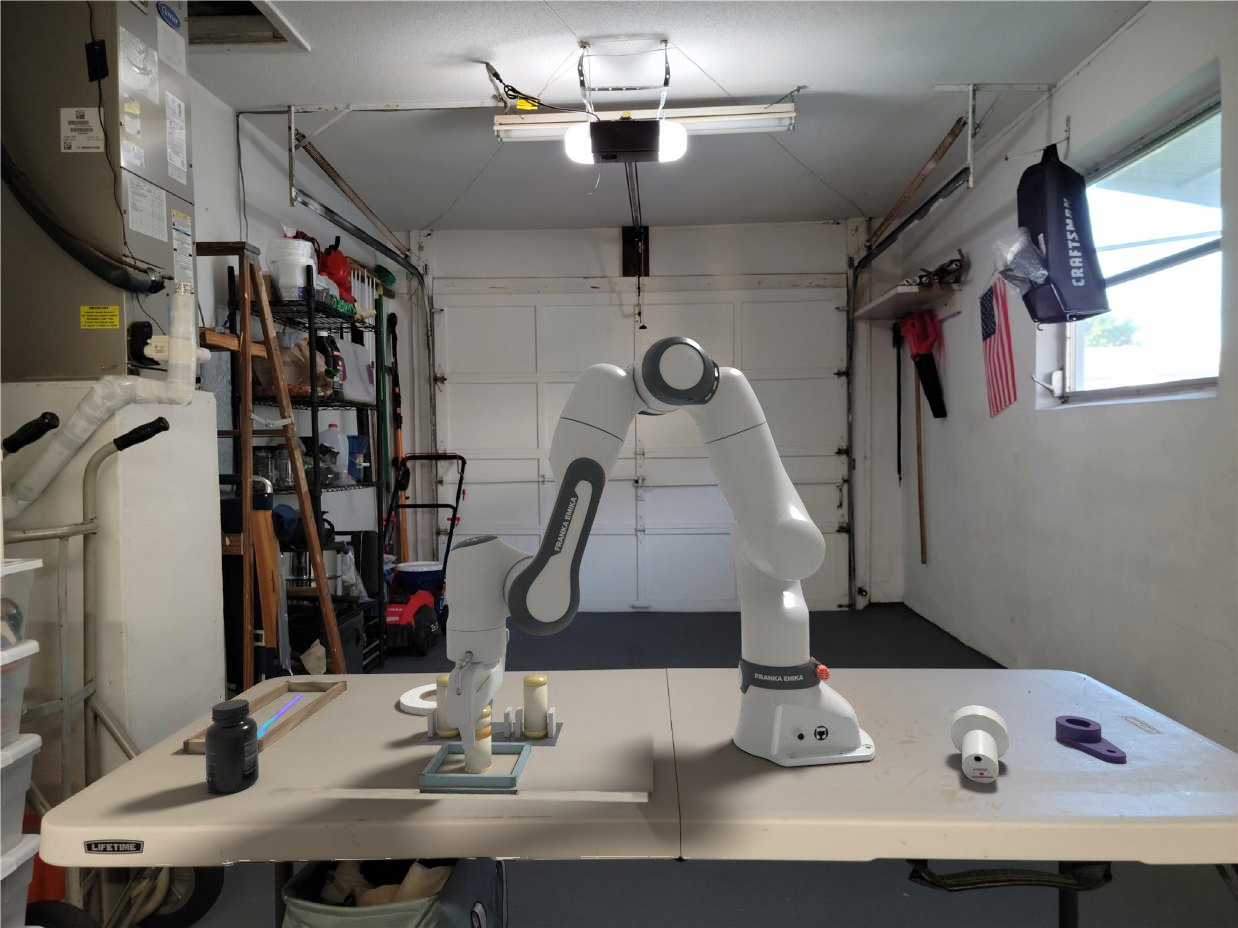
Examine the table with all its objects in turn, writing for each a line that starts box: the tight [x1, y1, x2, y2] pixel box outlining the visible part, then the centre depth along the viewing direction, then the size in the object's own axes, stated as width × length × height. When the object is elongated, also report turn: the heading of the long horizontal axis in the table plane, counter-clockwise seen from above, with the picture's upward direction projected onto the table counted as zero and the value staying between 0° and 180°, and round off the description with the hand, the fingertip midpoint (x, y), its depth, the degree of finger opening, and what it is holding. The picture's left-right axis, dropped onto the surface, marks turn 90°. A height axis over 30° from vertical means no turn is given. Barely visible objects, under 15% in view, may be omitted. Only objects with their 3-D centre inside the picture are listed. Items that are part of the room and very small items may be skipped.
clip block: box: [415, 706, 564, 747], centre depth 117 cm, size 23×10×5 cm, turn 87°
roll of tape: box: [399, 683, 437, 717], centre depth 134 cm, size 16×15×3 cm
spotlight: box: [950, 704, 1010, 784], centre depth 104 cm, size 8×11×8 cm
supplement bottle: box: [204, 698, 260, 795], centre depth 102 cm, size 7×7×12 cm
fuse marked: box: [464, 705, 493, 774], centre depth 104 cm, size 4×4×10 cm
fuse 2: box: [522, 673, 548, 738], centre depth 117 cm, size 4×4×10 cm
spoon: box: [257, 693, 304, 739], centre depth 129 cm, size 25×4×1 cm, turn 3°
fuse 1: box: [435, 673, 460, 738], centre depth 118 cm, size 4×4×10 cm
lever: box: [1055, 715, 1127, 764], centre depth 111 cm, size 12×6×3 cm, turn 4°
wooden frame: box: [182, 680, 348, 754], centre depth 130 cm, size 13×32×2 cm, turn 177°
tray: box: [418, 742, 532, 796], centre depth 104 cm, size 14×12×2 cm
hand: (478, 734), depth 104 cm, fingers open, 8 cm apart
